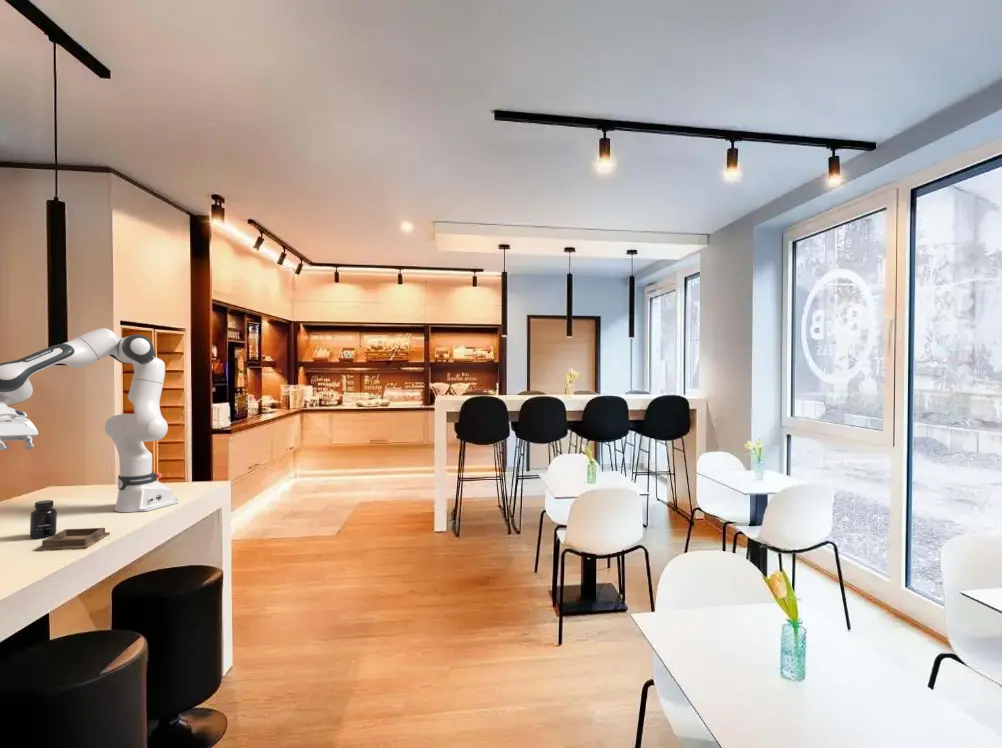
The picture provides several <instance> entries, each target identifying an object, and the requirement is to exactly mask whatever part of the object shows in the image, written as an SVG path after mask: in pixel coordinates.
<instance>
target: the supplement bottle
mask: <svg viewBox="0 0 1002 748" xmlns="http://www.w3.org/2000/svg"><path fill="white" fill-rule="evenodd" d="M57 519H58V511H57V508H55V507H54V500H51V499H47V500H46V499H44V500H39V501H35V502H34V510H32V512H30V521H29V524H30V525H29V537H30V539H33V540H40V538H42V539H47V538H46V537H48V538H49V537H51V536H53V535H55V534H57V523H58V522H57Z"/></svg>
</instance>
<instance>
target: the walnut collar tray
mask: <svg viewBox="0 0 1002 748" xmlns="http://www.w3.org/2000/svg"><path fill="white" fill-rule="evenodd" d="M109 534H111V532H106V528H105V527H91V528H90V527H88V528H67V529H63V530H62V531H60V532H58V533H57V532H56V534H55V535H53V536H51V537H48V538H44V539H43V540H42V541H41V545H40V546H39V547H37V548H36V549H35V550H36V551H35V552H43V551H42V550H50V551H64V550H63V549H72V550H87V549H89V548H90V547H91V545H92V546H94V545H95V544H97V543H99V542H100V541H102V540H103V539H105V538H106V536H107V535H108V536H110V535H109ZM108 536H107V537H108ZM104 537H105V538H104ZM101 539H102V540H101ZM99 540H100V541H99ZM98 541H99V542H98ZM96 542H97V543H96ZM94 543H95V544H94ZM93 544H94V545H93ZM88 547H89V548H88ZM86 548H87V549H86ZM39 550H41V551H39Z"/></svg>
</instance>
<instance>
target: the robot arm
mask: <svg viewBox="0 0 1002 748" xmlns="http://www.w3.org/2000/svg"><path fill="white" fill-rule="evenodd" d="M156 354H157V353H156V351H155V348H154V345H153V342H152V340H151V339H150V338H149V337H147V336H145V335H142V334H131V335H128V336H125V337H120V336H119V335H117V334H116V333H115V332H114V331H113V330H111V329H110V328H105V327H103V328H102V327H101V328H98V329H95V330H91V331H89V332H86V333H84V334H81V335H79V336H77V337H74V338H73V339H71V340H69V341H66V342H63V343H59V344H54V345H52V346H49V347H47V348H43V349H41V350H38V351H37V352H33V353H31V354H29V355H26V356H23V357H22V358H19V359H15V360H10V361H4V362H0V451H1V452H2V451H7V450H9V448H10V447H9V445H8V444H7V443H4V442H10V441H11V442H13V441H15V442H16V441H21V442H23V443H25V444H24V445H23V447H24V448H25V450H31V449H33V448H34V447H35V445H34V444H33V440H34V439H35V438H36V437H37V436H38V435H39V430H38V429H37V427H36V426H35V424H34V423H33V422H32V421H31V420H30V419H29V418H27V417H28V414H27V413H26V412H25V411H22V410H17V409H15V408H12V407H10V406H13V405H16V404H21V403H23V402H25V401H27V400H30V398H31V397H32V396H33V393H34V387H33V385H32V382H31V381H30V377H31V376H33V375H34V374H36V373H39V372H40V371H43V370H45V369H47V368H50V367H52V366H55V365H58V364H60V365H61V364H62V365H66V366H68V367H70V368H74V369H76V368H77V369H82V368H85V367H89V366H90V365H92V364H94V363H96V362H98V361H100V360H102V359H104V358H106V357H108V356H110V357H111V358H113V359H114V360H116V361H117V362H119V363H121V364H126V365H130V364H132V365H133V371H134V372H133V377H132V378H131V384H130V387H129V391H128V394H127V395H128V396H127V399H128V401H129V402H130V403H131V404H132V405H133V414H132V413H121V414H120V413H119V414H116V415H112V416H111V417H109V418H108V419H107V421H106V422H105V425H104V431H105V433H106V434H107V436H108V437H109V438H111V440H112V441H113V442H114V445H115V448H116V450H117V453H118V459H119V461H118V462H119V475H118V478H117V489H118V493H117V498H116V499H117V500H116V503H115V506H114V508H113V511H115V512H118V513H134V512H149V511H153V510H157V509H161V508H164V507H168V506H171V505H175V504H179V503H180V500H179V498H177V497H174V496H173V490H172V488H171V487H169V486H168V485H165V484H164V483H162V482H160V481H159V480H157V479H161V478H162V477H163V474H162V473H160V472H157V473H156V472H153V454H152V452H151V451H150V450H148V448H147V447H146V445H145V443H148V442H156V441H159V440H162V439H164V437H165V436H166V435H167V433H168V430H169V425H168V422H167V420H166V419H165V418H164V416H163V415H162V413H161V404H160V403H161V396H162V392H163V387H164V381H165V378H166V363H165V362H164V360H162V359H161V358H160V357H156V356H157V355H156Z"/></svg>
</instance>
